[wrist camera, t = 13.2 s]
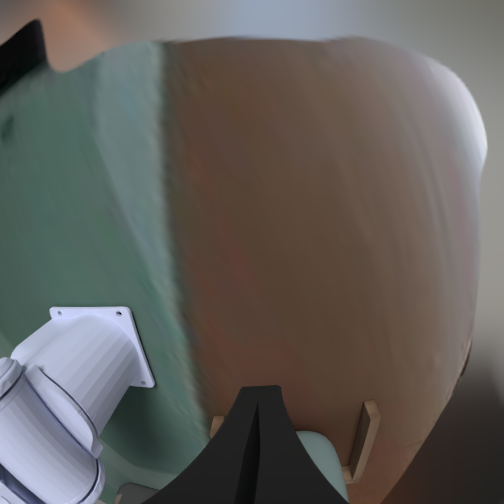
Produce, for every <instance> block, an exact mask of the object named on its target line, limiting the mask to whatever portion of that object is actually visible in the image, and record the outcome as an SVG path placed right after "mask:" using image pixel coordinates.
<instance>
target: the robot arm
mask: <svg viewBox="0 0 504 504" xmlns="http://www.w3.org/2000/svg"><path fill="white" fill-rule="evenodd" d="M118 311H119V312H121V314H122V315H120V314H119V312H118ZM61 313H62V314H61ZM50 314H51V317H52V319H51V320H50V321H49V322H47V323H46V324H45V325H43V326H42V327H41V328H40V329H38V330H37V331H36V332H34V333H33V334H32V335H31V336H29V337H28V338H27V339H25V340H24V341H23V342H22V343H20V344H19V345H18V346H17V347H16V348H15V349H14V351H13V353H12V355H11V358H7V357H4V358H1V359H0V504H95V503H96V502H97V500H98V499H99V497H100V496H101V494H102V491H103V488H104V484H105V478H106V473H105V468H104V465H103V463H102V462H101V460H100V459H99V458H98V457H99V455H100V453H101V452H102V450H103V446H102V445H101V444H100V443H99V441H98V437H99V436H100V434H101V432H102V431H103V429H104V427H105V425H106V424H107V422H108V420H109V419H110V417H111V415H112V414H113V412H114V410H115V409H116V407H117V405H118V404H119V402H120V400H121V399H122V397H123V395H124V394H125V392H126V391H127V389H128V387H129V386H138V387H149V388H152V387H154V385H155V381H154V378H153V376H152V373H151V370H150V368H149V365H148V362H147V359H146V357H145V354H144V351H143V348H142V345H141V342H140V339H139V336H138V333H137V330H136V326H135V323H134V320H133V316H132V313H131V311H130V309H129V308H127V307H52V308H51V309H50ZM143 381H144V382H143ZM145 382H146V383H145ZM140 504H349V503H348V502H347V501H346V500H345V499H344V498H343V497H342V496H341V494H340V493H339V492H338V491H337V490H336V489H335V488H334V487H333V486H332V485H331V484H330V482H329V481H328V480H327V479H326V478H325V476H324V475H323V474H322V472H321V471H320V470H319V469H318V467H317V466H316V464H315V463H314V461H313V460H312V459H311V457H310V456H309V454H308V452H307V451H306V449H305V447H304V446H303V444H302V442H301V440H300V439H299V437H298V435H297V433H296V431H295V429H294V427H293V425H292V422H291V420H290V418H289V416H288V413H287V410H286V408H285V405H284V401H283V398H282V393H281V387H280V386H278V385H271V386H252V387H242V388H241V389H240V392H239V394H238V396H237V398H236V400H235V402H234V404H233V406H232V408H231V410H230V411H229V413H228V415H227V417H226V418H225V420H224V421H223V423H222V424H221V426H220V428H219V429H218V431H217V432H216V433H215V435H214V436H213V437H212V439H211V440H210V441H209V443H208V444H207V445H206V447H205V448H204V449H203V450H202V452H201V453H200V454H199V455H198V456H197V457H196V458H195V460H194V461H193V462H192V463H191V464H190V465H189V466H188V467H187V468H186V469H185V470H184V471H183V472H182V473H180V474H179V475H178V476H177V477H176V478H175V479H174V480H173V481H171V482H170V483H169V484H168V485H167V486H165V487H164V488H163V489H161V490H160V491H158V492H157V493H155V494H154V495H153V496H151V497H150V498H148V499H147V500H145V501H144V502H142V503H140Z"/></svg>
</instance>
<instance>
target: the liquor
mask: <svg viewBox="0 0 504 504" xmlns="http://www.w3.org/2000/svg"><path fill="white" fill-rule="evenodd" d="M157 492H158V490H156V489H152V488H148V487H144V486H140V485H136V484H133V483H127V484H124V485H123V486H121V487H120V488H119V491H118V493H117V496H116V498H115V500H114V503H113V504H140V503H142V502H144V501H145V500H147V499H148V498H150V497H151V496H153V495H154V494H155V493H157Z"/></svg>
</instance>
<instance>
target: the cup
mask: <svg viewBox="0 0 504 504" xmlns="http://www.w3.org/2000/svg"><path fill="white" fill-rule="evenodd" d="M296 433H297V435H298V437H299V439H300V440H301V442H302V444H303V446H304V447H305V449H306V451H307V452H308V454H309V456H310V457H311V459H312V460H313V461H314V463H315V464H316V466H317V467H318V469H319V470H320V471H321V472H322V474H323V475H324V476H325V478H326V479H327V480H328V481H329V482H330V484H331V485H332V486H333V487H334V488H335V489H336V490H337V491H338V492H339V493H340V494H341V496H342V497H343V498H344V499H345V500H346V501H347V502H348V503H349V499H348V493H347V488H346V483H345V478H344V474H343V470H342V466H341V463H340V460H339V457H338V454H337V452H336V450H335V448H334V446H333V444H332V443H331V442H330V440H329V439H328V438H327V437H325V436H324V435H322V434H320V433H317V432H313V431H296Z"/></svg>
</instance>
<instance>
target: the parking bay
mask: <svg viewBox="0 0 504 504" xmlns="http://www.w3.org/2000/svg"><path fill="white" fill-rule="evenodd" d="M224 420H225V416H214V418H213V422H212V427H211V431H210V437H211V439H212V437H213V436H214V435H215V433H216V432H217V431H218V429H219V428H220V426H221V424H222V423H223V421H224ZM380 420H381V416H380V413H379V411H378V409H377V406H376V404H375V401H374V400H370V401H365V402H364V404H363V409H362V414H361V419H360V423H359V428H358V432H357V436H356V440H355V444H354V448H353V452H352V456H351V460H350V463H349V465H348V466H342V470H343V474H344V478H345V483H346V484H351V483H356V482H359V481H360V478H361V476H362V473H363V471H364V468H365V465H366V463H367V460H368V457H369V454H370V452H371V449H372V446H373V443H374V440H375V437H376V433H377V430H378V427H379V423H380Z"/></svg>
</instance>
